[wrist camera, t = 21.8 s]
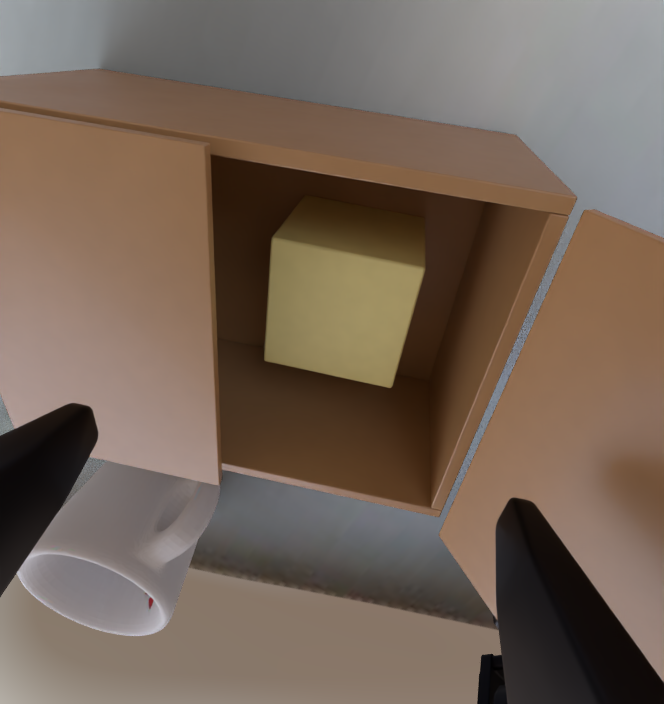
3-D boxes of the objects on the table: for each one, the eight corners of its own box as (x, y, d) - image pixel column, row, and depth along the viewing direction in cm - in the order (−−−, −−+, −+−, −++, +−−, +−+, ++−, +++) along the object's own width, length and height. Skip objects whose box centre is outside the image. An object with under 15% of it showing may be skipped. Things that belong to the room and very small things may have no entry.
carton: (517, 135, 15) (589, 207, 8) (435, 383, 21) (440, 536, 15) (97, 68, 16) (-131, 86, 9) (138, 324, 22) (17, 442, 16)
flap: (583, 209, 8) (594, 208, 9) (438, 534, 15) (445, 531, 15) (1391, 550, 3) (1389, 535, 3) (640, 828, 10) (648, 820, 10)
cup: (189, 387, 24) (102, 514, 18) (285, 477, 27) (240, 615, 20) (83, 453, 29) (-15, 571, 23) (174, 523, 32) (110, 646, 25)
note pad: (425, 217, 17) (426, 268, 13) (398, 322, 19) (391, 389, 16) (304, 193, 17) (270, 237, 13) (294, 300, 20) (262, 361, 16)
